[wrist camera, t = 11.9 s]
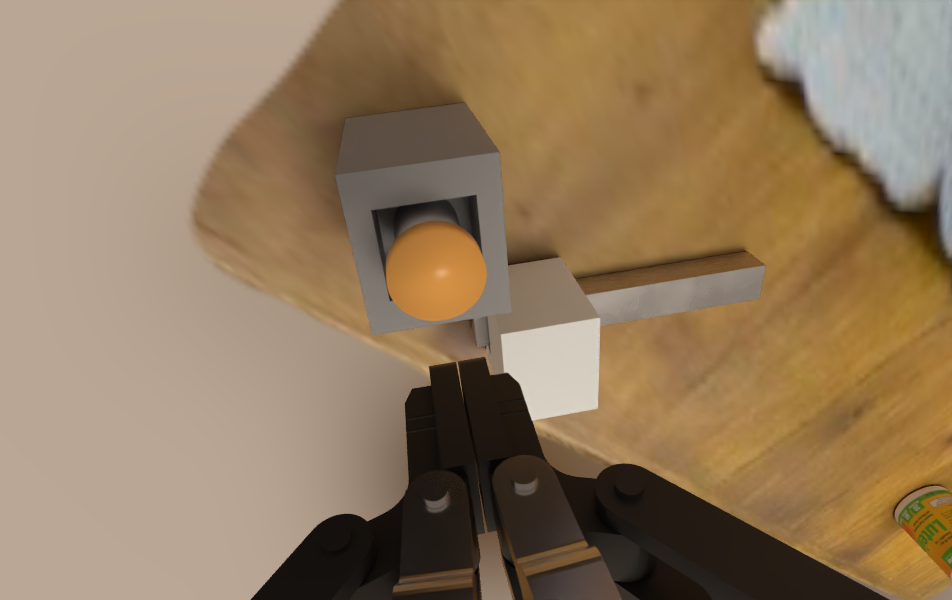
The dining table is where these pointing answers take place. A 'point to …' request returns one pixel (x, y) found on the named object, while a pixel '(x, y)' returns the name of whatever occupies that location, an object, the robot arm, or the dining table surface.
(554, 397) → the carriage
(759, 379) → the dining table surface
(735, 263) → the rail
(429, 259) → the ball
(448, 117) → the grey square housing
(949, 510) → the supplement bottle
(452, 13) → the dining table surface
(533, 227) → the dining table surface
